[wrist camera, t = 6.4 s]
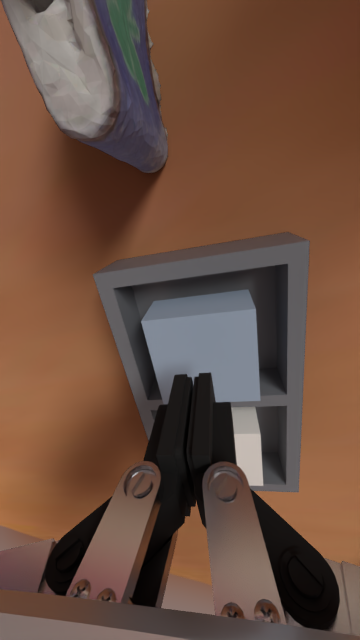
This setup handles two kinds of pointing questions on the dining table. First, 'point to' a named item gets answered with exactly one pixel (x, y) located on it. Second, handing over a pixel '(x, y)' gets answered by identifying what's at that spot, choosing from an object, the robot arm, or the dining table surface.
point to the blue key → (206, 343)
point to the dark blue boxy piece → (95, 73)
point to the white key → (248, 444)
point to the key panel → (271, 317)
